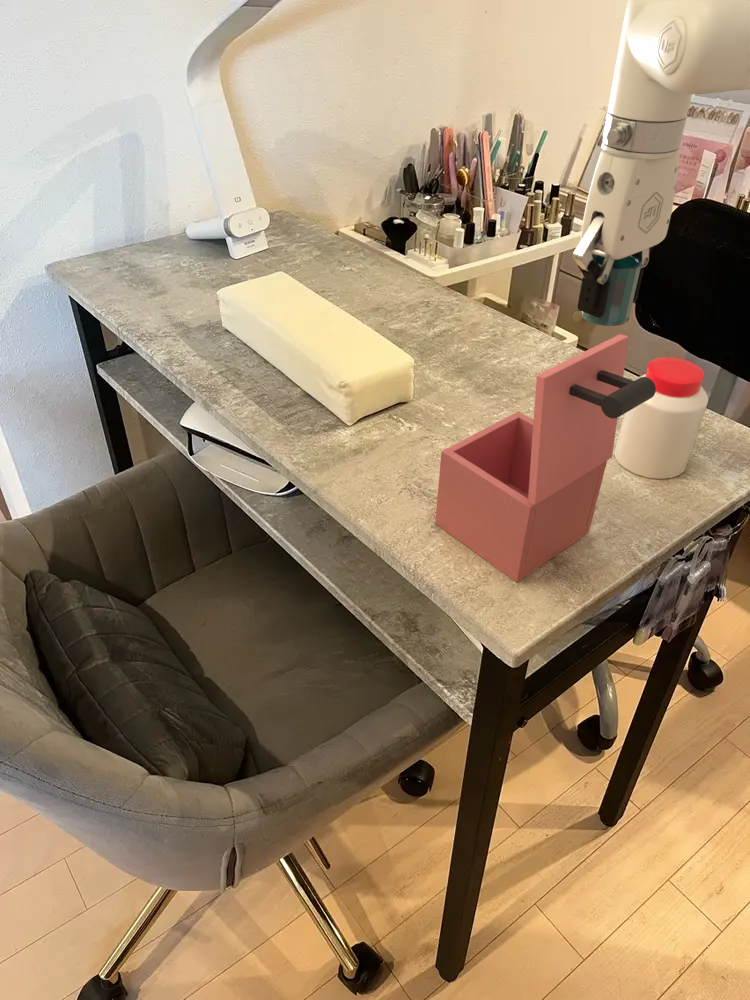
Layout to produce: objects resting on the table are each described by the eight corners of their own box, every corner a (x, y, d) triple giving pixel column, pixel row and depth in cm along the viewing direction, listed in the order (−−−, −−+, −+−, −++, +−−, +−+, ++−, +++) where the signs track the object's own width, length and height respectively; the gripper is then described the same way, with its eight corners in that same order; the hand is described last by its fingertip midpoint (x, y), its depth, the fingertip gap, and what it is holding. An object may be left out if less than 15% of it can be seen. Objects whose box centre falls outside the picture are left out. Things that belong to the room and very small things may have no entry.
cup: (630, 310, 90) (643, 255, 86) (626, 329, 86) (639, 272, 82) (583, 303, 91) (594, 249, 87) (577, 321, 87) (588, 266, 83)
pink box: (434, 523, 75) (441, 450, 70) (507, 481, 81) (518, 410, 75) (516, 582, 69) (530, 507, 64) (588, 533, 75) (607, 459, 69)
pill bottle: (600, 456, 85) (621, 368, 78) (638, 430, 89) (662, 344, 82) (662, 488, 80) (691, 398, 73) (700, 459, 84) (730, 371, 77)
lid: (536, 374, 57) (599, 398, 54) (620, 333, 63) (683, 352, 59) (527, 501, 64) (583, 530, 60) (604, 454, 69) (660, 477, 65)
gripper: (623, 156, 70) (587, 339, 81) (722, 128, 78) (677, 296, 90) (557, 140, 74) (532, 315, 85) (658, 115, 83) (623, 277, 94)
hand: (607, 304), depth 87 cm, fingers closed on cup, 5 cm apart
